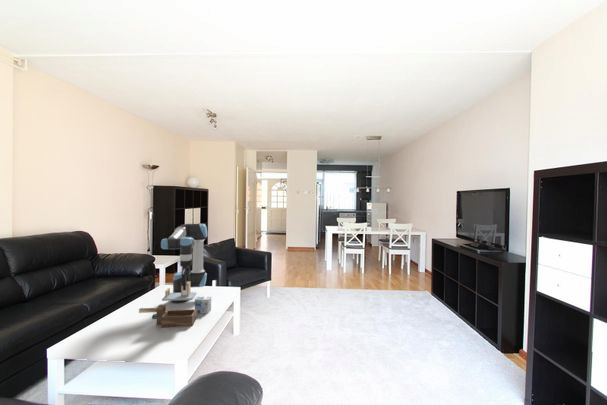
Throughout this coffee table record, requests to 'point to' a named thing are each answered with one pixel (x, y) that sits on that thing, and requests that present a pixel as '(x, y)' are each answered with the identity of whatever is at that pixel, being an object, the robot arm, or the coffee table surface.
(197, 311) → the light bulb box
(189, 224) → the robot arm
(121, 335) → the coffee table surface
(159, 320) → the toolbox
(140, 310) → the key
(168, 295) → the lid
